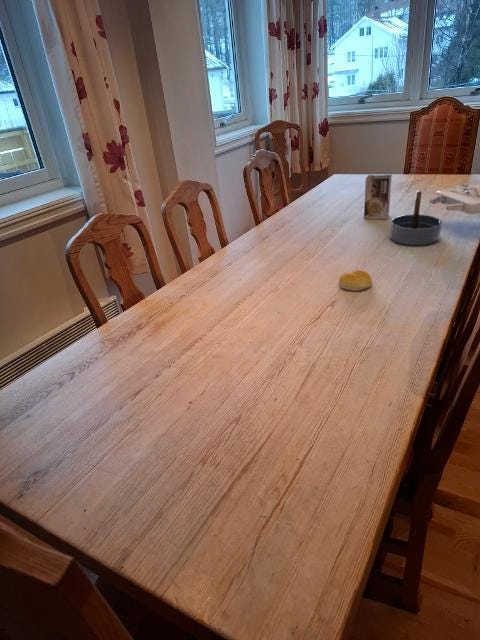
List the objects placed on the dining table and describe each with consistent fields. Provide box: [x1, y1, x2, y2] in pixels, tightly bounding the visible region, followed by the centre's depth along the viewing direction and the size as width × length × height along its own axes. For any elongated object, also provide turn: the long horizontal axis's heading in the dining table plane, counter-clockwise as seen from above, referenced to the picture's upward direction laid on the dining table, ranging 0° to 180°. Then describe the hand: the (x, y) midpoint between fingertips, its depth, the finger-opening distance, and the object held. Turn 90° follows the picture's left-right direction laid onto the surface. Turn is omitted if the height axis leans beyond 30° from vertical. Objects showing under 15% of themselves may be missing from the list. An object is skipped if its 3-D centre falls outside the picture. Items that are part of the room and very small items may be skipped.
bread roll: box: [338, 269, 373, 292], centre depth 121 cm, size 8×9×4 cm
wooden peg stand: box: [408, 190, 423, 229], centre depth 147 cm, size 6×6×15 cm
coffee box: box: [363, 173, 393, 220], centre depth 170 cm, size 9×6×16 cm
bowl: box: [389, 213, 443, 247], centre depth 148 cm, size 16×16×6 cm
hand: (439, 204), depth 147 cm, fingers open, 8 cm apart
